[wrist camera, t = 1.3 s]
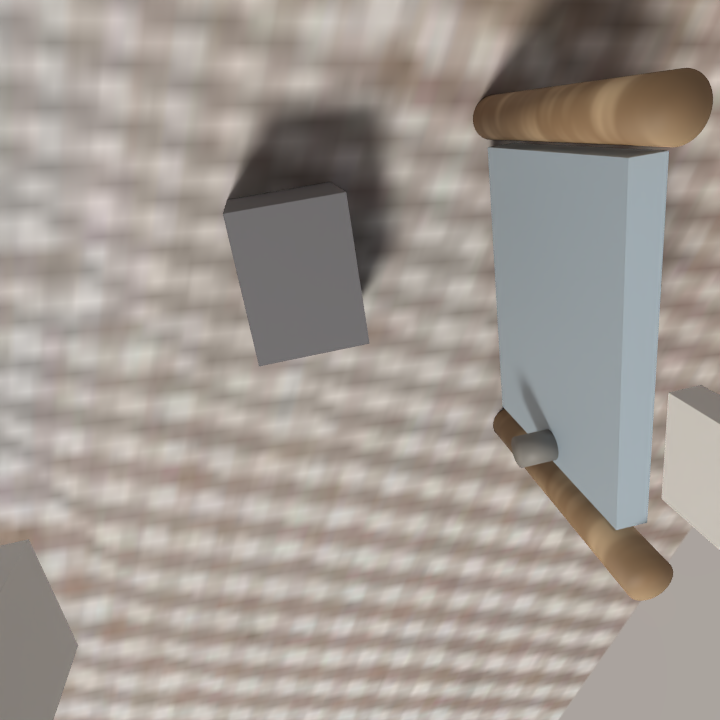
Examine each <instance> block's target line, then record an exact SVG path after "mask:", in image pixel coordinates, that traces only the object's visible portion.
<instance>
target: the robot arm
mask: <svg viewBox="0 0 720 720" xmlns="http://www.w3.org/2000/svg"><path fill="white" fill-rule="evenodd" d="M662 500H664V501H665V502H666V503H667V504H668V505H669V506H670V507H671V508H673V509H674V510H675V511H676V512H677V513H678V514H679V515H680V516H682V517H683V518H684V519H685V520H686V521H687V522H688V523H690V524H691V525H692V526H693V527H694V528H695V529H696V530H697V531H699V532H700V533H701V534H702V535H703V536H704V537H705V538H707V539H708V540H709V541H710V542H711V543H712V544H713V545H714V546H716V547H717V548H718V549H719V550H720V395H718V394H717V393H715V392H713V391H711V390H709V389H708V388H706V387H704V386H702V385H700V386H695V387H691V388H687V389H682V390H678V391H673V392H669V394H668V410H667V425H666V440H665V456H664V471H663V486H662ZM77 647H78V644H77V642H76V640H75V638H74V635H73V633H72V631H71V629H70V627H69V625H68V623H67V620H66V618H65V616H64V614H63V612H62V610H61V608H60V605H59V603H58V601H57V599H56V597H55V595H54V592H53V590H52V588H51V586H50V584H49V582H48V580H47V577H46V575H45V573H44V571H43V569H42V567H41V565H40V562H39V560H38V558H37V556H36V554H35V552H34V550H33V547H32V545H31V543H30V541H29V539H28V540H24V541H19V542H15V543H11V544H6V545H2V546H0V720H53V719H54V716H55V713H56V710H57V707H58V704H59V701H60V698H61V695H62V692H63V689H64V686H65V683H66V680H67V677H68V674H69V671H70V668H71V665H72V662H73V659H74V656H75V653H76V650H77Z"/></svg>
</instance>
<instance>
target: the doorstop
mask: <svg viewBox="0 0 720 720" xmlns="http://www.w3.org/2000/svg"><path fill="white" fill-rule="evenodd" d="M223 216H224V220H225V225H226V229H227V233H228V237H229V241H230V246H231V250H232V254H233V258H234V262H235V267H236V271H237V275H238V279H239V283H240V288H241V292H242V296H243V300H244V305H245V309H246V313H247V317H248V321H249V326H250V330H251V334H252V338H253V342H254V347H255V351H256V355H257V359H258V363H259V366H263V365H268V364H273V363H277V362H282V361H287V360H292V359H297V358H302V357H306V356H311V355H316V354H321V353H326V352H331V351H336V350H340V349H345V348H350V347H355V346H360V345H365V344H369V338H368V331H367V325H366V318H365V312H364V305H363V298H362V292H361V285H360V279H359V272H358V266H357V259H356V253H355V246H354V240H353V233H352V226H351V220H350V213H349V207H348V200H347V194H346V192H345V191H344V190H342V189H341V188H339V187H338V186H336V185H334V184H333V183H331V182H327V183H322V184H316V185H310V186H304V187H299V188H293V189H287V190H281V191H276V192H270V193H264V194H258V195H253V196H247V197H241V198H235V199H230V200H227V202H226V205H225V209H224V212H223Z"/></svg>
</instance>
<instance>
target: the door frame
mask: <svg viewBox="0 0 720 720" xmlns="http://www.w3.org/2000/svg"><path fill="white" fill-rule="evenodd" d="M712 104H713V94H712V89H711V86H710V83H709V81H708V79H707V78H706V77H705V76H704V75H703V74H702V73H701V72H699V71H697V70H695V69H691V68H682V69H674V70H667V71H660V72H653V73H646V74H639V75H632V76H625V77H618V78H610V79H603V80H596V81H589V82H582V83H575V84H568V85H561V86H553V87H546V88H539V89H532V90H525V91H518V92H511V93H504V94H496V95H490V96H487V97H485V98H484V99H482V100H481V101H480V102H479V103H478V105H477V106H476V108H475V111H474V115H473V123H474V127H475V130H476V131H477V133H478V134H479V135H480V136H481V137H483V138H485V139H490V140H513V141H537V142H560V143H584V144H608V145H632V146H655V147H678V146H682V145H685V144H687V143H688V142H690V141H692V140H693V139H694V138H695V137H696V136H698V134H699V133H700V132H701V131H702V130H703V128H704V127H705V125H706V123H707V121H708V119H709V117H710V114H711V110H712ZM493 428H494V431H495V432H496V433H497V435H498V436H499V437H500V438H501V440H502V441H503V442H504V443H505V445H506V446H507V447H508V448H509V449H510V451H511V452H512V446H511V440H512V438H513V437H515V436H519V435H523V434H528V433H527V432H526V431H525V430H524V429H523V428H522V427H521V426H520V425H519V424H518V423H517V422H516V420H515V419H514V418H513V417H512V416H511V415H510V414H509V413H508V412H507V411H506V410H505V409H504V410H502V411H500V412H499V413H498V414H497V416H496V417H495V419H494V422H493ZM512 453H513V452H512ZM524 468H525V469H526V470H527V471H528V473H529V474H530V475H531V476H532V478H533V479H534V480H535V481H536V483H537V484H538V485H539V486H540V487H541V489H542V490H543V491H544V492H545V494H546V495H547V496H548V497H549V498H550V500H551V501H552V502H553V503H554V505H555V506H556V507H557V508H558V509H559V511H560V512H561V513H562V514H563V516H564V517H565V518H566V519H567V521H568V522H569V523H570V524H571V525H572V527H573V528H574V529H575V530H576V532H577V533H578V534H579V535H580V536H581V538H582V539H583V540H584V541H585V543H586V544H587V545H588V546H589V548H590V549H591V550H592V551H593V552H594V554H595V555H596V556H597V557H598V559H599V560H600V561H601V562H602V563H603V565H604V566H605V567H606V568H607V570H608V571H609V572H610V573H611V574H612V576H613V577H614V578H615V579H616V581H617V582H618V583H619V584H620V586H621V587H622V588H623V589H624V590H625V592H626V593H627V594H628V595H629V596H630V597H631V598H632V599H635V600H639V601H643V600H648V599H651V598H654V597H656V596H658V595H659V594H660V593H662V592H663V591H664V590H665V589H666V588H667V587H668V585H669V584H670V582H671V580H672V577H673V569H672V567H671V565H670V564H669V563H668V562H667V561H666V560H665V559H664V558H663V557H662V556H661V555H660V554H659V553H658V551H657V550H656V549H655V548H654V547H653V546H652V545H651V544H650V543H649V542H648V541H647V540H646V539H645V538H644V537H643V536H642V535H641V534H640V533H639V532H638V531H637V530H636V529H635V528H634V527H633V526H631V527H627V528H623V529H619V530H616V529H615V528H614V527H613V526H612V525H611V524H610V523H609V522H608V521H607V520H606V519H605V517H604V516H603V515H602V514H601V513H600V512H599V511H598V510H597V509H596V508H595V507H594V505H593V504H592V503H591V502H590V501H589V500H588V499H587V498H586V497H585V496H584V495H583V493H582V492H581V491H580V490H579V489H578V488H577V487H576V486H575V485H574V484H573V483H572V481H571V480H570V479H569V478H568V477H567V476H566V475H565V474H564V473H563V472H562V471H561V469H560V468H559V467H558V466H557V465H556V464H555V463H554V462H553V461H550V462H545V463H541V464H537V465H533V466H528V467H524Z"/></svg>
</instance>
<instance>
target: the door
mask: <svg viewBox="0 0 720 720" xmlns="http://www.w3.org/2000/svg"><path fill="white" fill-rule="evenodd" d="M668 158H669V151H664V150H645V149H625V148H605V147H586V146H566V145H546V144H527V143H510V144H504V145H499V146H493V147H488V160H489V177H490V195H491V212H492V229H493V247H494V264H495V282H496V299H497V316H498V334H499V351H500V368H501V386H502V403H503V407H504V408H505V410H506V411H507V412H508V413H509V414H510V415H511V416H512V417H513V418H514V419H515V420H516V422H517V423H518V424H519V425H520V426H521V427H522V428H523V429H524V430H525V431H526V432H527V433H528V434H523V435H519V436H515V437H513V438H512V440H511V446H512V452H513V455H514V458H515V460H516V462H517V464H518V465H519V467H521V468H524V467H528V466H533V465H537V464H541V463H545V462H550V461H553V462H554V463H555V464H556V465H557V466H558V467H559V468H560V469H561V471H562V472H563V473H564V474H565V475H566V476H567V477H568V478H569V479H570V480H571V481H572V483H573V484H574V485H575V486H576V487H577V488H578V489H579V490H580V491H581V492H582V493H583V495H584V496H585V497H586V498H587V499H588V500H589V501H590V502H591V503H592V504H593V505H594V507H595V508H596V509H597V510H598V511H599V512H600V513H601V514H602V515H603V516H604V517H605V519H606V520H607V521H608V522H609V523H610V524H611V525H612V526H613V527H614V528H615V529H616V530H619V529H623V528H627V527H631V526H635V525H639V524H643V523H647V516H648V499H649V482H650V465H651V448H652V431H653V414H654V397H655V380H656V363H657V345H658V328H659V311H660V294H661V277H662V260H663V243H664V226H665V209H666V192H667V175H668Z"/></svg>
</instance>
